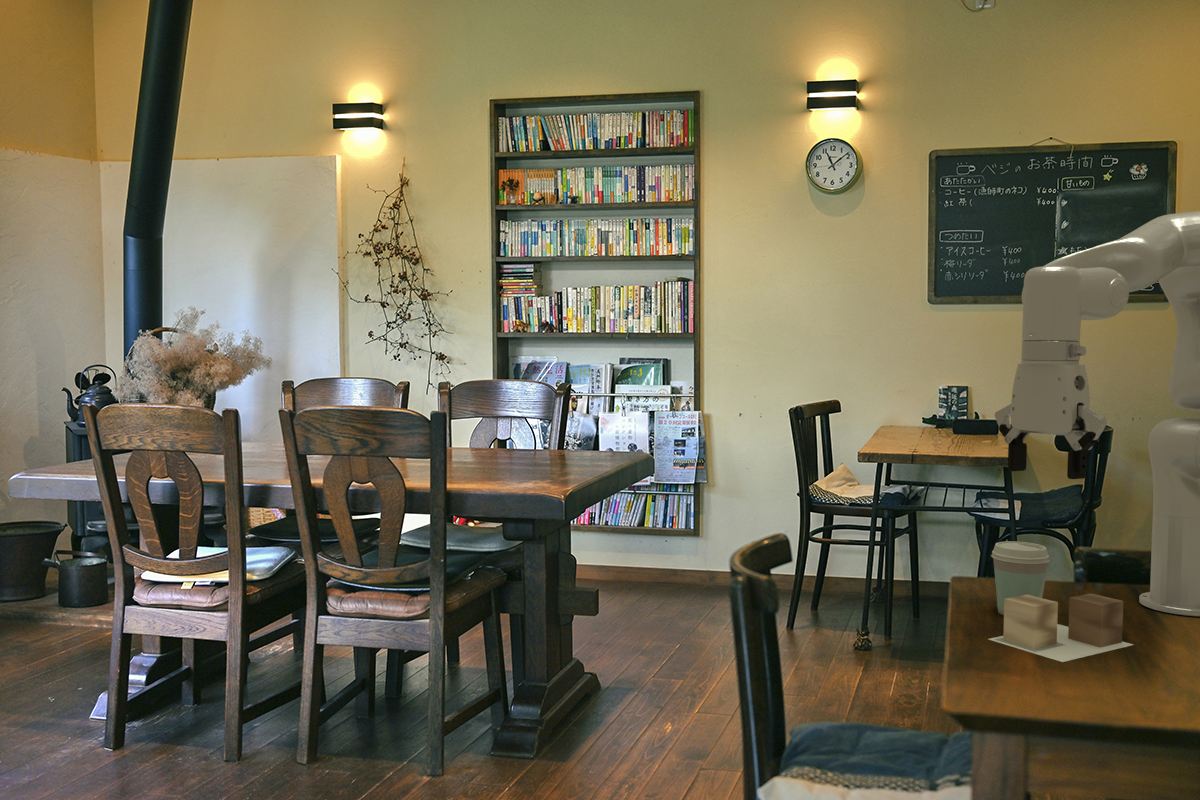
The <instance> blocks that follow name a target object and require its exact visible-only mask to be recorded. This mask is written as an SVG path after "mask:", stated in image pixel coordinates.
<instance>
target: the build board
mask: <svg viewBox="0 0 1200 800" xmlns="http://www.w3.org/2000/svg"><path fill="white" fill-rule="evenodd" d="M1068 628H1069V626H1066V625H1063V624H1059V623H1057V644H1055V645H1050V646H1046V647H1041V648H1037V649H1031V648H1028V647H1025V646H1021V645H1018V644H1015V643H1012V642H1008V641H1005V640H1003V635H1000V636H997V637H991V638H988V640H989V641H993V642H996V643H999V644H1003V645H1005V646H1009V647H1013V648H1016V649H1018V650H1021V651H1025V652H1028V653H1031V654H1035V655H1038V656H1041V657H1044V658H1047V659H1052V660H1055V661H1057V662H1061V663H1064V662H1069V661H1073V660H1077V659H1078V660H1079V659H1080V658H1085V657H1089V656H1094V655H1098V654H1102V653H1106V652H1110V651H1115V650H1117V649H1118V650H1119V649H1123V648H1128V647H1130V646H1134V644H1133V643H1130V642H1125V641H1122V643H1118V644H1113V645H1109V646H1105V647H1101V648H1100V647H1096V646H1093V645H1089V644H1086V643H1082V642H1079V641H1075V640H1072V639H1068Z"/></svg>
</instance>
